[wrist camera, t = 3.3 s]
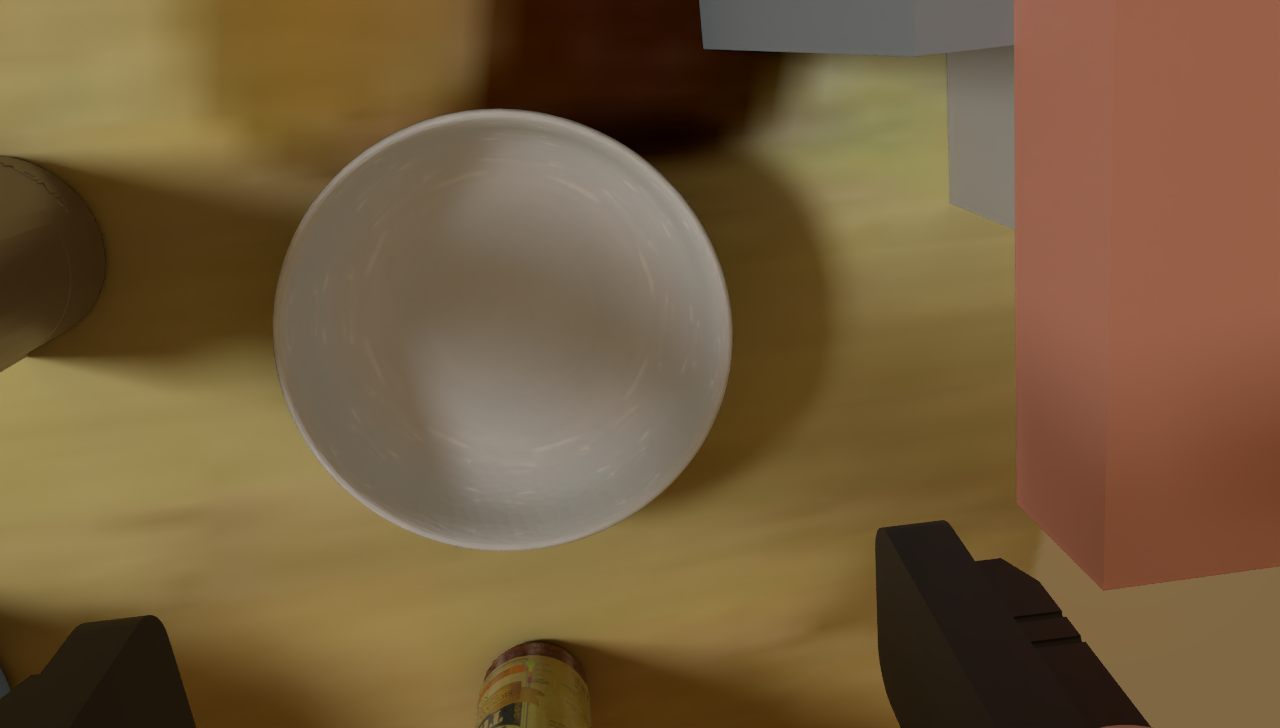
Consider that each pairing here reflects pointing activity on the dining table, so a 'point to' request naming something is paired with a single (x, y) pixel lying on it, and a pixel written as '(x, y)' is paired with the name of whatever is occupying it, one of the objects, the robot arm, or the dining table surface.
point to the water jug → (3, 685)
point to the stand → (912, 26)
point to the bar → (1149, 283)
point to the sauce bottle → (534, 690)
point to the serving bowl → (502, 330)
